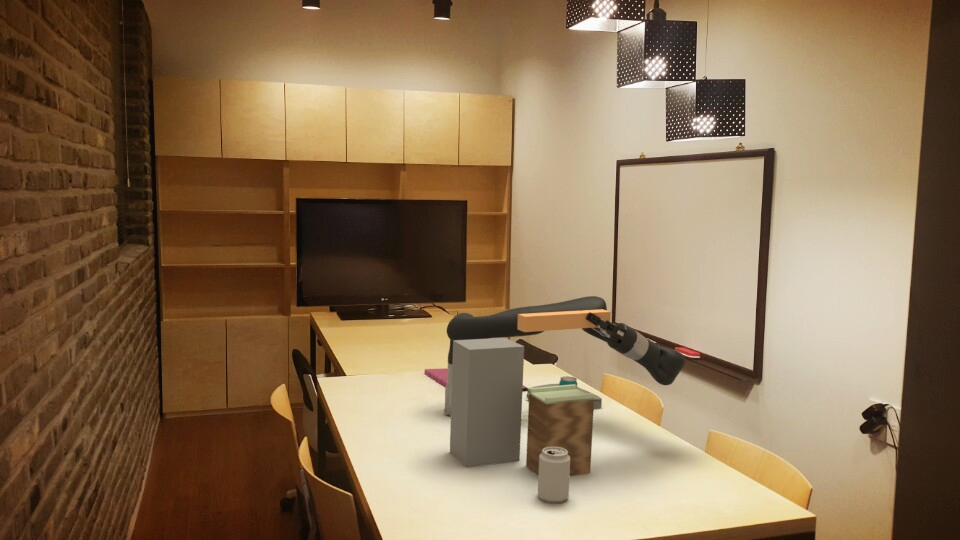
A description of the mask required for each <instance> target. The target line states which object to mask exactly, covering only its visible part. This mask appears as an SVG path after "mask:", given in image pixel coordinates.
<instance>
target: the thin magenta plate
mask: <svg viewBox="0 0 960 540" xmlns="http://www.w3.org/2000/svg"><path fill="white" fill-rule="evenodd" d="M447 373H448V367H447V368H425V369H424V375H426V376H427V377H428V378H431V379H432V380H433V381H434V382H436V383H438V384H439V385H441V386H442V387H444V388H445V387H446V385H447ZM528 388H529V387H527V386H526V385H523V390H522V392H528Z"/></svg>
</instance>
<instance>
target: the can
mask: <svg viewBox="0 0 960 540" xmlns="http://www.w3.org/2000/svg"><path fill="white" fill-rule="evenodd" d="M569 475H570V456H569V455H568V451H567V450H566V449H564V448H561V447H546V448H544V449H543V450H542V453H541V454H540V455H539V475H537V477H538V480H537V481H538V482H537V495H538V497H539V498H540V499H541V500H542V501H544V502H546V503H550V504H558V503H559V504H560V503H562V502H564V501H565V500H567V499H568V497H569V495H570V494H569V491H570V476H569Z"/></svg>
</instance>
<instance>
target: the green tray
mask: <svg viewBox="0 0 960 540" xmlns="http://www.w3.org/2000/svg"><path fill="white" fill-rule="evenodd" d="M577 387H578V384H577V385H575V384H573V385H562V386H550V387H538V388H531V387H528V388H529V394H531V395H532V396H534V397H536V398H537V399H539V400H541V401H542V402H544V403H546V404H555V403H565V402H575V401H586V400H594V394H595V393H593V392H591V393H588V394H586V393H584V392H582V391H580V390H578V389H577Z"/></svg>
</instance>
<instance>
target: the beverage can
mask: <svg viewBox="0 0 960 540" xmlns="http://www.w3.org/2000/svg"><path fill="white" fill-rule="evenodd" d="M577 380H578V379H577V377H574V376H561V377H560V380H559V383H558V384H559V386H562V385H573V384H575V385H577V386H578V381H577Z"/></svg>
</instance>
